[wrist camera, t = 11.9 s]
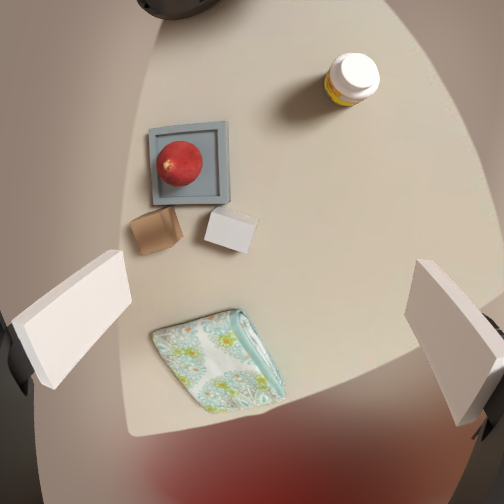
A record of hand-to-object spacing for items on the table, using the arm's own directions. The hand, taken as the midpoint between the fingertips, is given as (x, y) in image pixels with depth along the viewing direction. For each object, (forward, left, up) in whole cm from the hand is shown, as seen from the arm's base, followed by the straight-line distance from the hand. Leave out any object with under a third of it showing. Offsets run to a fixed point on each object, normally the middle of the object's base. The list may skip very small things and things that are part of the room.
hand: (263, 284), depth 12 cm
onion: (-4, -13, -28) cm, 31 cm away
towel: (+31, -10, -29) cm, 44 cm away
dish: (-4, -13, -29) cm, 32 cm away
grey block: (+5, -7, -29) cm, 30 cm away
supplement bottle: (-14, +8, -29) cm, 33 cm away
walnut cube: (+5, -18, -29) cm, 34 cm away
